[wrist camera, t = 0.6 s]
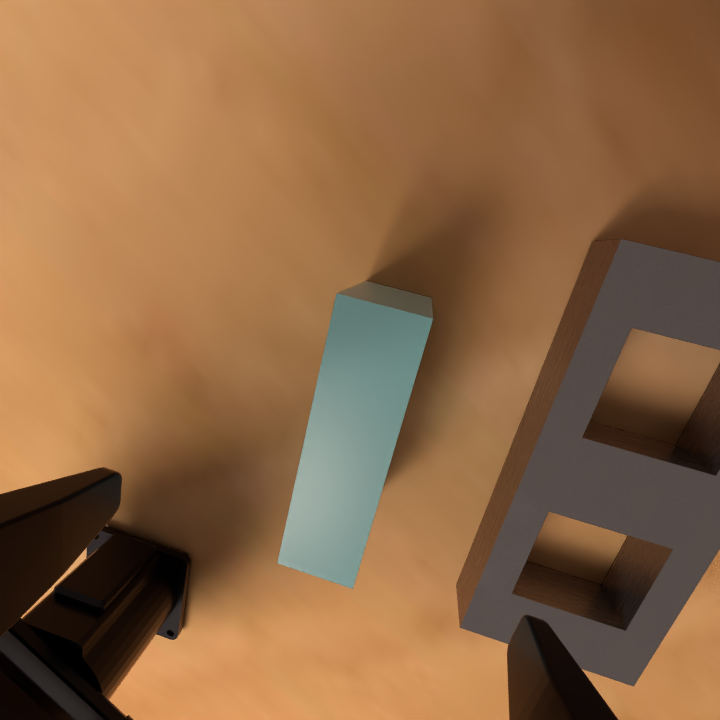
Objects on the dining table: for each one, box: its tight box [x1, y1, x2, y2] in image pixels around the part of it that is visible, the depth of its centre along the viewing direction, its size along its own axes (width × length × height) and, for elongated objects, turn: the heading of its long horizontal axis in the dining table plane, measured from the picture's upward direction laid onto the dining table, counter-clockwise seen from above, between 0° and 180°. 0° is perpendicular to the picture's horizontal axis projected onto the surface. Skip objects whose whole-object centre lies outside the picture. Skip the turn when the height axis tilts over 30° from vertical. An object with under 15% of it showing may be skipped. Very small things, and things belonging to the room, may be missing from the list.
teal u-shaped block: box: [277, 281, 433, 589], centre depth 16 cm, size 10×3×6 cm, turn 167°
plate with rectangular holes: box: [456, 239, 720, 686], centre depth 17 cm, size 18×8×2 cm, turn 166°
